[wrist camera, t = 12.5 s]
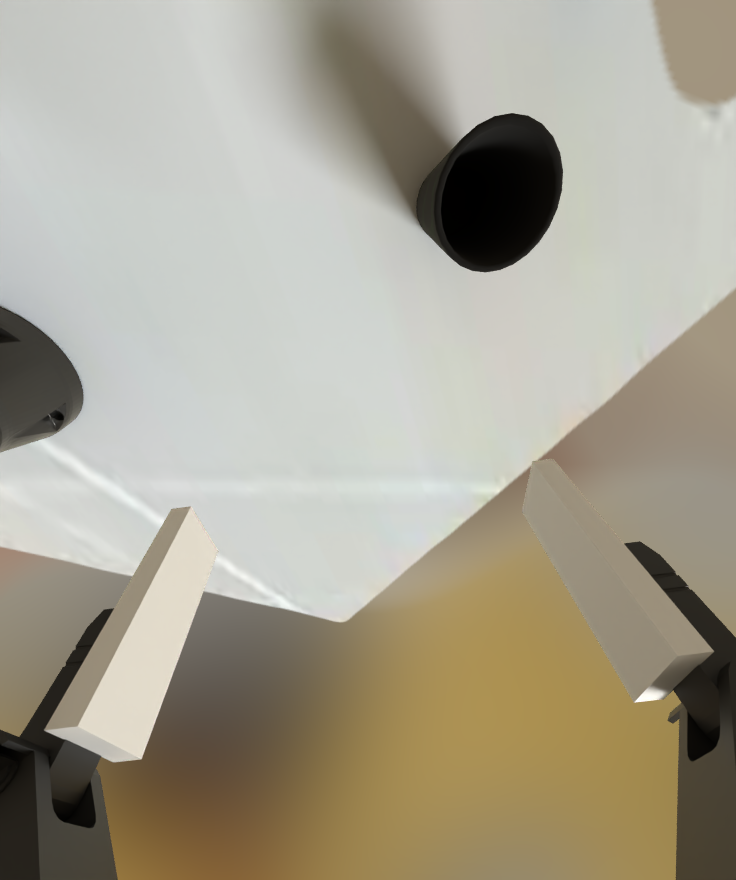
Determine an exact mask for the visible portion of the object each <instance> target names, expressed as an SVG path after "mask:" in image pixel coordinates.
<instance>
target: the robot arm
mask: <svg viewBox="0 0 736 880" xmlns="http://www.w3.org/2000/svg"><path fill="white" fill-rule="evenodd" d="M82 405H83V389H82V385H81V381H80V379H79V376H78V374H77V372H76V370H75V368H74V367H73V365H72V364H71V362H70V361H69V359H68V358H67V357H66V355H65V354H64V353H63V352H62V351H61V349H60V348H59V347H58V346H57V345H56V344H55V343H54V342H53V341H52V340H51V339H50V338H48V337H47V336H46V335H45V334H44V333H42V332H41V331H40V330H39V329H37V328H36V327H34V326H33V325H32V324H30V323H29V322H27V321H25V320H24V319H22V318H20V317H19V316H17V315H15V314H13V313H11V312H9V311H7V310H4V309H2V308H0V452H3V451H6V450H9V449H13V448H16V447H19V446H22V445H25V444H28V443H31V442H35V441H38V440H41V439H44V438H47V437H50V436H52V435H54V434H56V433H57V432H59V431H61V430H62V429H63V428H64V427H66V426H67V425H68V424H70V423H71V422H72V421H73V420H74V419H75V418H76V417H77V416H78V415H79V413H80V411H81V408H82ZM522 513H523V514H524V516H525V518H526V519H527V521H528V523H529V525H530V526H531V528H532V530H533V531H534V533H535V535H536V536H537V538H538V540H539V542H540V543H541V545H542V547H543V548H544V550H545V552H546V554H547V555H548V557H549V558H550V560H551V562H552V564H553V565H554V567H555V569H556V571H557V572H558V574H559V576H560V577H561V579H562V581H563V582H564V584H565V586H566V588H567V589H568V591H569V593H570V594H571V596H572V598H573V599H574V601H575V603H576V605H577V606H578V608H579V610H580V611H581V613H582V614H583V616H584V618H585V620H586V621H587V623H588V625H589V627H590V628H591V630H592V632H593V633H594V635H595V637H596V638H597V640H598V642H599V644H600V645H601V647H602V649H603V651H604V652H605V654H606V656H607V657H608V659H609V661H610V662H611V664H612V666H613V668H614V669H615V671H616V673H617V674H618V676H619V678H620V679H621V681H622V683H623V685H624V686H625V688H626V690H627V691H628V693H629V695H630V696H631V698H632V700H633V702H643V701H651V700H660V699H664V698H665V697H666V696H667V695H669V694H670V693H671V692H672V691H673V690H674V692H675V693H676V695H677V696H678V698H679V699H680V701H681V702H682V703H681V704H680V705H679V706H677V707H676V708H675V709H674V710H673V711H672V712H670V715H669V718H668V721H669V722H671V723H674V722H676V721H677V720H678V719H679V761H678V763H679V764H678V805H677V806H678V807H677V851H676V855H677V856H676V880H736V638H735V637H734V635H733V634H732V633H731V632H730V631H729V630H728V629H727V628H726V627H725V625H723V623H722V622H721V621H720V620H719V619H718V618H717V617H716V616H715V615H714V613H713V612H712V611H711V610H710V609H709V608H708V607H707V606H706V605H705V604H704V603H703V601H702V600H701V599H700V598H699V597H698V596H697V595H696V594H695V593H694V592H693V591H692V590H690V589H689V588H688V585H687V584H686V583H685V582H684V581H683V580H682V579H681V577H680V576H679V575H678V576H677V575H676V573H675V571H674V570H673V569H672V567H671V566H670V565H669V564H668V563H667V562H666V561H665V560H664V559H663V558H662V557H661V556H660V555H659V554H658V553H656V552H655V551H653V550H652V549H650V548H649V547H647V546H646V545H645V544H643V543H642V542H632V543H623V542H622V541H621V540H620V538H619V537H618V536H617V535H616V534H615V532H614V531H613V530H612V529H611V528H610V526H609V525H608V524H607V523H606V522H605V521H604V519H603V518H602V517H601V516H600V515H599V513H598V512H597V511H596V510H595V509H594V507H593V506H592V505H591V504H590V503H589V501H588V500H587V499H586V498H585V497H584V495H583V494H582V493H581V492H580V491H579V489H578V488H577V487H576V486H575V485H574V483H573V482H572V481H571V480H570V479H569V478H568V477H567V475H566V474H565V473H564V471H563V470H562V469H561V468H560V467H559V465H558V464H557V463H556V462H555V461H554V460H553V459H547V460H540V461H532V466H531V471H530V476H529V481H528V486H527V490H526V495H525V500H524V505H523V509H522ZM217 553H218V550H217V548H216V546H215V545H214V543H213V541H212V540H211V538H210V537H209V535H208V533H207V532H206V530H205V528H204V527H203V525H202V523H201V522H200V520H199V519H198V517H197V515H196V514H195V512H194V510H193V509H192V507H183V508H176V509H171V511H170V513H169V514H168V516H167V518H166V520H165V521H164V523H163V525H162V527H161V528H160V530H159V532H158V534H157V535H156V537H155V539H154V540H153V542H152V544H151V546H150V547H149V549H148V551H147V553H146V554H145V556H144V558H143V560H142V561H141V563H140V565H139V566H138V568H137V570H136V572H135V573H134V575H133V577H132V579H131V581H130V582H129V584H128V586H127V587H126V589H125V591H124V592H123V594H122V596H121V598H120V599H119V601H118V603H117V605H116V607H115V608H113V609H106V610H103V611H102V612H101V614H100V615H99V616H98V617H97V618H96V619H95V620H94V621H93V622H92V623H91V624H90V625H89V626H88V627H87V629H86V631H85V633H84V634H83V635H82V637H81V639H80V641H79V642H78V644H77V645H76V650H74V651H73V652H72V653H71V655H70V657H69V658H68V660H67V662H66V666H65V667H63V668H62V670H61V671H60V673H59V674H58V676H57V678H56V679H55V681H54V683H53V684H52V686H51V687H50V689H49V691H48V693H47V694H46V696H45V697H44V699H43V701H42V702H41V704H40V705H39V707H38V709H37V710H36V712H35V713H34V715H33V717H32V718H31V720H30V722H29V723H28V725H27V727H26V728H25V730H24V731H23V733H22V734H21V735H20V737H17V736H14V735H12V734H10V733H7V732H4V731H2V730H0V880H118V879H117V873H116V867H115V861H114V855H113V850H112V844H111V839H110V832H109V826H108V820H107V815H106V808H105V802H104V796H103V790H102V784H101V779H100V775H99V774H98V771H97V770H96V766H97V764H98V762H99V760H100V757H103V758H105V759H108V760H110V761H112V762H119V761H129V760H138V759H142V756H143V753H144V750H145V748H146V745H147V742H148V740H149V737H150V734H151V732H152V729H153V726H154V723H155V720H156V718H157V715H158V713H159V710H160V707H161V705H162V702H163V699H164V696H165V694H166V691H167V688H168V686H169V683H170V680H171V677H172V675H173V672H174V669H175V667H176V664H177V661H178V659H179V656H180V653H181V650H182V648H183V645H184V642H185V640H186V637H187V634H188V631H189V629H190V626H191V623H192V621H193V618H194V615H195V612H196V610H197V607H198V604H199V602H200V599H201V596H202V594H203V591H204V588H205V585H206V583H207V580H208V577H209V575H210V572H211V569H212V567H213V564H214V561H215V558H216V556H217Z"/></svg>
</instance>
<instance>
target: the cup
mask: <svg viewBox="0 0 736 880" xmlns="http://www.w3.org/2000/svg"><path fill="white" fill-rule="evenodd" d="M562 178H563V169H562V162H561V156H560V152H559V149H558V147H557V145H556V142H555V140H554V138H553V136H552V135H551V134H550V132H549V131H548V130H547V129H546V128H545V126H544V125H543V124H542V123H540V122H538V121H536V120H535V119H533V118H531V117H529V116H526V115H520V114H514V113H510V114H505V115H499V116H494V117H492V118H490V119H488V120H486V121H484V122H483V123H481V124H479V125H477V126H476V127H475V128H474V129H472V130H471V131H470V132H469V133H468V134H467V135H466V136H464V137H463V138H462V139H461V140H460V141H459V143H458V144H457V145H456V146H455V147H454V148H453V149H452V150H451V151H450V152H449V153H448V155H447V156H446V157H445V158H444V159H443V160H442V161H441V162H440V163H439V164H438V165H437V167H436V168H435V169H434V170H433V171H432V172H431V173H430V174H429V175H428V177H427V178H426V179H425V181H424V182H423V184H422V186H421V188H420V191H419V194H418V198H417V216H418V220H419V222H420V225H421V227H422V228H423V230H424V231H425V232H426V233H427V234H428V235H429V236H430V237H431V238H432V239H433V240H434V241H435V242H436V244H437V245H438V246H439V247H440V248H441V249H442V250H443V251H444V252H445V253H446V254H447V255H448V256H449V257H450V258H452V259H453V260H454V261H455V262H456V263H458V264H459V265H460V266H462V267H465V268H467V269H469V270H472V271H479V272H491V271H497V270H501V269H503V268H506V267H508V266H510V265H513V264H514V263H516V262H517V261H519V260H520V259H521V258H523V257H524V256H526V255H527V254H528V253H529V252H530V251H531V250H532V249H533V248H534V247H535V246H536V245H537V244H538V243H539V241H540V240H541V238H542V237H543V235H544V234H545V232H546V231H547V229H548V228H549V226H550V224H551V222H552V219H553V217H554V215H555V213H556V211H557V208H558V204H559V200H560V196H561V192H562Z"/></svg>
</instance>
